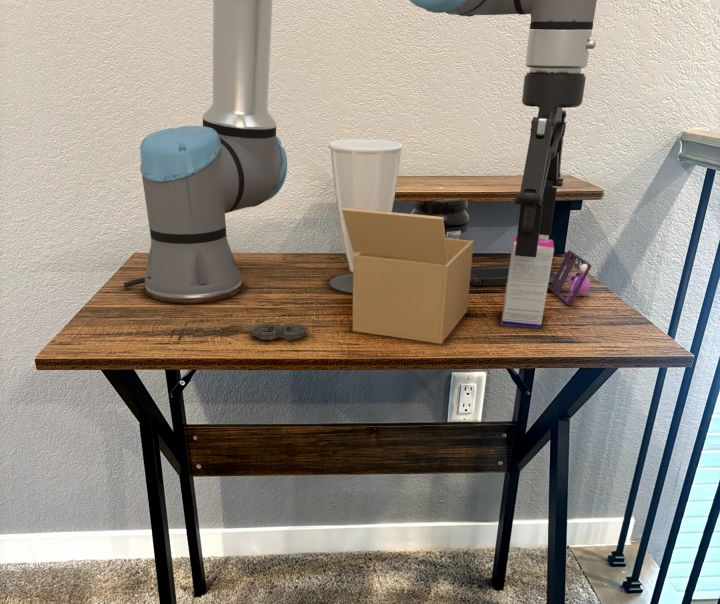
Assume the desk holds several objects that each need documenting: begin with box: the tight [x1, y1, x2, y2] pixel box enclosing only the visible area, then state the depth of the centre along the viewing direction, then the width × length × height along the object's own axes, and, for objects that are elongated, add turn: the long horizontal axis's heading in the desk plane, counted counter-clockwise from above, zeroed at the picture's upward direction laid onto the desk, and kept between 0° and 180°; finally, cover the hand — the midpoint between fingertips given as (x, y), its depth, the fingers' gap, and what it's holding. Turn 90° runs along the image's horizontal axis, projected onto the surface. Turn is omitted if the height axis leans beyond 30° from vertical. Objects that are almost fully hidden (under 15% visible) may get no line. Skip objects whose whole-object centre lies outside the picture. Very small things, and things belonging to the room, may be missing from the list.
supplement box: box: [500, 235, 555, 329], centre depth 105 cm, size 6×6×12 cm
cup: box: [327, 138, 404, 294], centre depth 117 cm, size 12×12×22 cm
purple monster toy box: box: [549, 249, 592, 307], centre depth 117 cm, size 7×5×9 cm
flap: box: [342, 208, 448, 262], centre depth 92 cm, size 7×13×1 cm
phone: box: [470, 264, 557, 287], centre depth 126 cm, size 8×1×15 cm
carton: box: [352, 238, 475, 345], centre depth 104 cm, size 15×13×10 cm
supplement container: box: [410, 199, 470, 240], centre depth 131 cm, size 10×10×12 cm
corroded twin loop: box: [249, 322, 309, 341], centre depth 100 cm, size 5×8×1 cm, turn 89°
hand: (533, 244), depth 102 cm, fingers open, 13 cm apart
